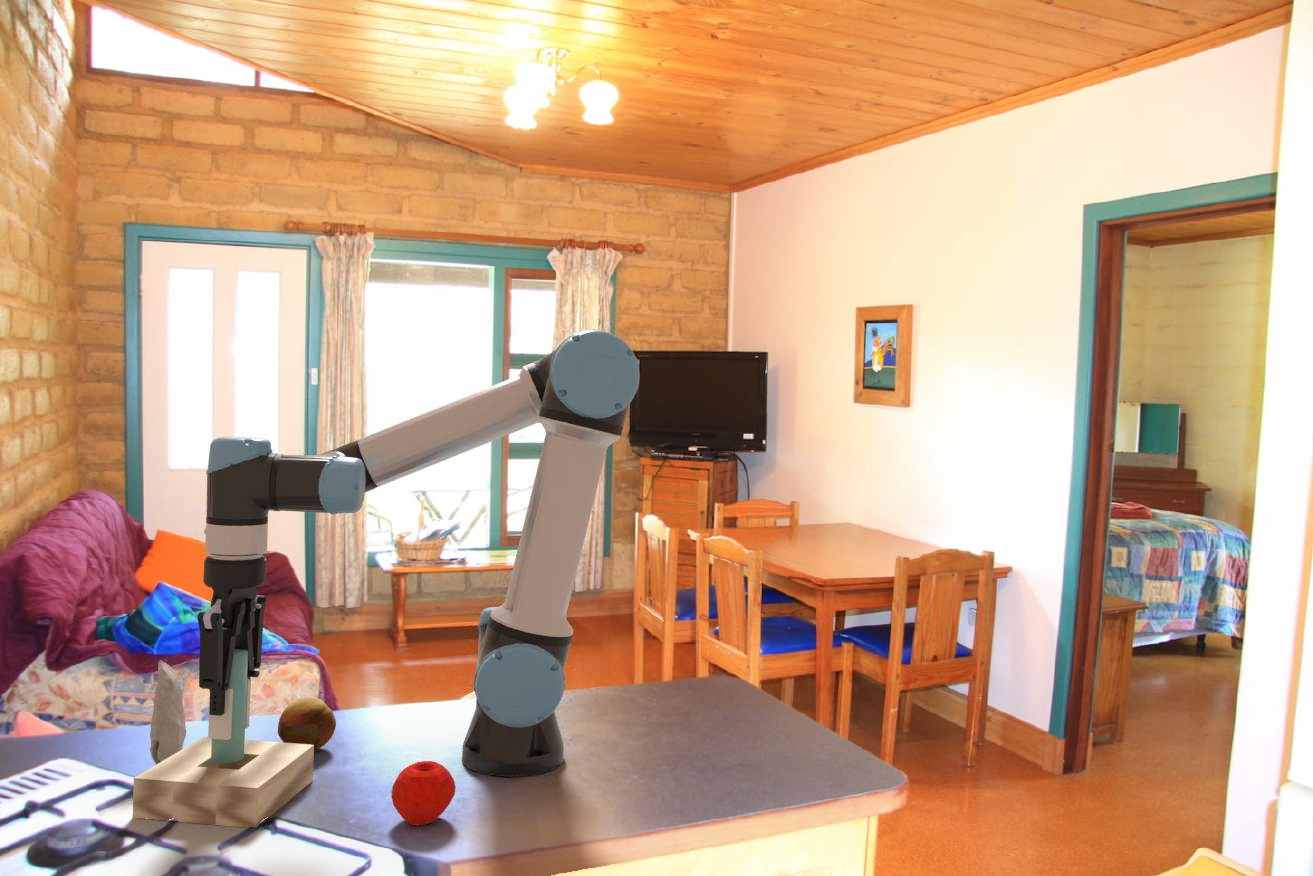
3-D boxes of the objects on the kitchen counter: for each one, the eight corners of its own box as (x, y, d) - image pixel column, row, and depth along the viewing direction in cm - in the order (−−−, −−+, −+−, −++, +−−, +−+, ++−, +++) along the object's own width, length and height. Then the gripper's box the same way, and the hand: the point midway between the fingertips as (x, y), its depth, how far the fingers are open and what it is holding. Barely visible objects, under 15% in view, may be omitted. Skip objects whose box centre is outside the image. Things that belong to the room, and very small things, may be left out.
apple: (454, 833, 123) (457, 774, 122) (388, 836, 121) (391, 776, 121) (454, 807, 130) (456, 751, 130) (392, 809, 129) (394, 753, 129)
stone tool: (166, 778, 136) (170, 670, 135) (141, 778, 135) (145, 669, 135) (189, 754, 145) (192, 653, 145) (165, 754, 145) (169, 653, 144)
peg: (249, 754, 132) (253, 649, 131) (234, 764, 128) (238, 657, 127) (221, 751, 132) (225, 647, 132) (204, 762, 128) (208, 654, 128)
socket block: (312, 780, 137) (314, 745, 137) (256, 828, 121) (257, 788, 121) (202, 771, 139) (204, 736, 139) (132, 818, 123) (133, 778, 123)
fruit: (338, 756, 147) (340, 702, 147) (279, 762, 144) (281, 708, 143) (331, 739, 154) (332, 689, 154) (274, 745, 150) (276, 693, 150)
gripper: (241, 545, 138) (234, 711, 139) (170, 562, 121) (163, 752, 122) (293, 548, 137) (286, 715, 138) (229, 566, 120) (222, 757, 121)
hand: (229, 732), depth 130 cm, fingers closed on peg, 4 cm apart
